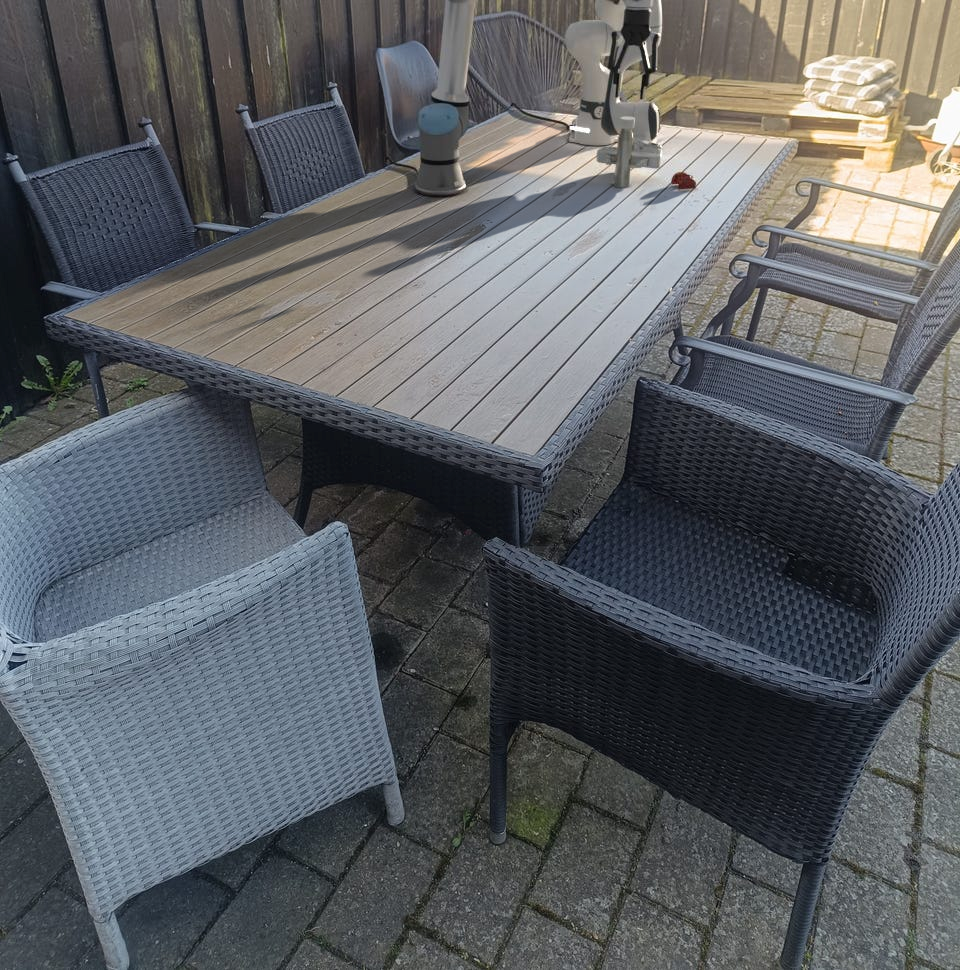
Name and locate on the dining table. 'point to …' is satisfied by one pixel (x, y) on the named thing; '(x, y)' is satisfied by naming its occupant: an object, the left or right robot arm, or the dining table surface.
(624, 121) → the cap
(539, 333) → the dining table surface
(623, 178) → the bottle
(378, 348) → the dining table surface
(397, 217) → the dining table surface
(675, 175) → the dental model
